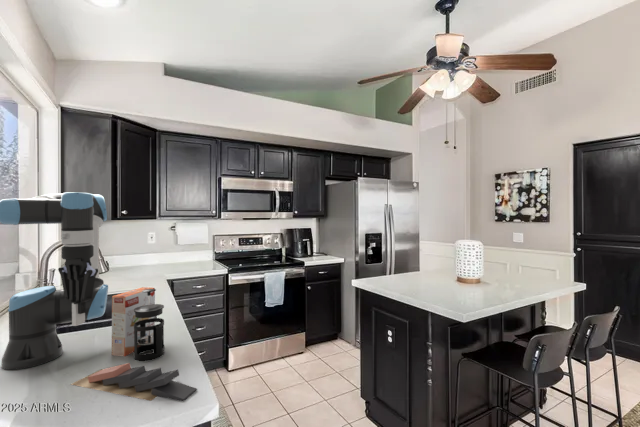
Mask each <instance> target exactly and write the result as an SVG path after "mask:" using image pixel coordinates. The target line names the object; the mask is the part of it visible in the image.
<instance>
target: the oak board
mask: <svg viewBox="0 0 640 427" xmlns="http://www.w3.org/2000/svg"><path fill="white" fill-rule="evenodd" d="M101 370H103V369H102V368H101V369H99V370H97V371H95V372H93V373H91V374H89V375H87V376H84V377H82V378H80V379H78V380H76V381H74V382H72V383H70V385H72V386H77V387H82V388H85V389H92V390H95V391H96V390H97V391H100V392H106V393H111V394H116V395H121V396H126V397H131V398H134V399H135V398H136V399H140V400H146V401H150V402H151V401H153V400H154V399H156V398H157V397H158V396H155V395H152V394H151V392H152V388H150V389H147V390H143V391H139V392H136V389H135V386H136V385H135V386H130V387H126V388H121V389H119V385H118V383H114V384H109V385H104V386H103V381H102V380H99V381H95V382H90V383H89V380H88V377H89V376H91V375H93V374H95V373H97V372H99V371H101Z"/></svg>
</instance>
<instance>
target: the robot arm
mask: <svg viewBox="0 0 640 427" xmlns="http://www.w3.org/2000/svg"><path fill="white" fill-rule="evenodd" d="M106 221H108V213H107V205H106V201H105V198H104V196H103V195H102V194H93V193H90V192H74V191H73V192H71V191H70V192H67V191H66V192H63V193H59V192H58V193H47V194H42V195H36V196H33V197H32V198H31V197H30V198H15V197H14V198H3V199H0V224H2V225H13V226H17V225H42V224H44V225H45V224H47V225H51V224H61V244H62V247H61V249H60V250H61V258H62V260H65V262H64V266H61V267H59V268H57V269H58V270H57V271H58V272H59V273H58V274H60V278H61V284H62V289H57V288H56V286H54V285H47V286H46V285H45V286H40V287H35V288H31V289H27V290H23V291H21V292H17V293H15V294H14V295H12V296H11V297H10V299H9V303H8V304H9V305H8V309H7V312H8V343H7V345H6V348H5V350H4V353H3V355H2V357H1V368H2V369H3V370H12V371H13V370H21V369H28V368H32V367H36V366H39V365H42V364H45V363H48V362H51V361H53V360H55V359H58V358H59V357H60V356H62V354H63V353H64V352H63V349H64V348H63V344H62V342H61V339H60V338H59V336H58V333H57V327H56V325H61V324H68V323H71V326H73V327H77V326H80V325H82V324H85V323H86V321H87V320H88V321H89V320H93V319H96V318H101V317H102V316H104V314H105V312H106V309H107V301H108V294H109V284H106V283H105V281H104V280H103V278H101V277H99V276H100V269H99V268H100V266H99V264H100V261H99V260H100V257H99V256H100V254H99V253H100V250H99V248H100V244H99V242H100V240H99V238H100V236H99V232H100V231H99V229H100V227H102V226H103V224H104V222H106Z"/></svg>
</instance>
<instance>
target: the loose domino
mask: <svg viewBox="0 0 640 427" xmlns="http://www.w3.org/2000/svg"><path fill="white" fill-rule="evenodd" d="M131 368H132V367H131V364H130V362H127V363H123V364H120V365H119V364H118V365H115V366H111V367H106V368H104V369H103V370H101V369H100V370H101V371H99V370H98V371H99V372H97V371H96V372H97V373H95V372H94V373H95V374H93V373H92V374H93V375H91V376H89V377H88V380H89V383H90V382H95V381H99V380H104V379H108V378H113V377H116V376H118V375H120V374H121V373H123V372H125V371H127V370H129V369H131Z"/></svg>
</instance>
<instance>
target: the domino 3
mask: <svg viewBox="0 0 640 427" xmlns="http://www.w3.org/2000/svg"><path fill="white" fill-rule="evenodd" d="M179 376H180V373H179V369H174V370H170V371H165V372H162V374H161V375H159V376H157V377H156V378H154V379H153V380H151V381H149V382H148V383H144V384H139V385H136V386H135V389H136V392H139V391H143V390H147V389H150V388H154V387H158V386H162V385H166V384H167V383H168V382H170V381H171V380H173V381H174V380H175V379H176V378H177V377H179Z"/></svg>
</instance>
